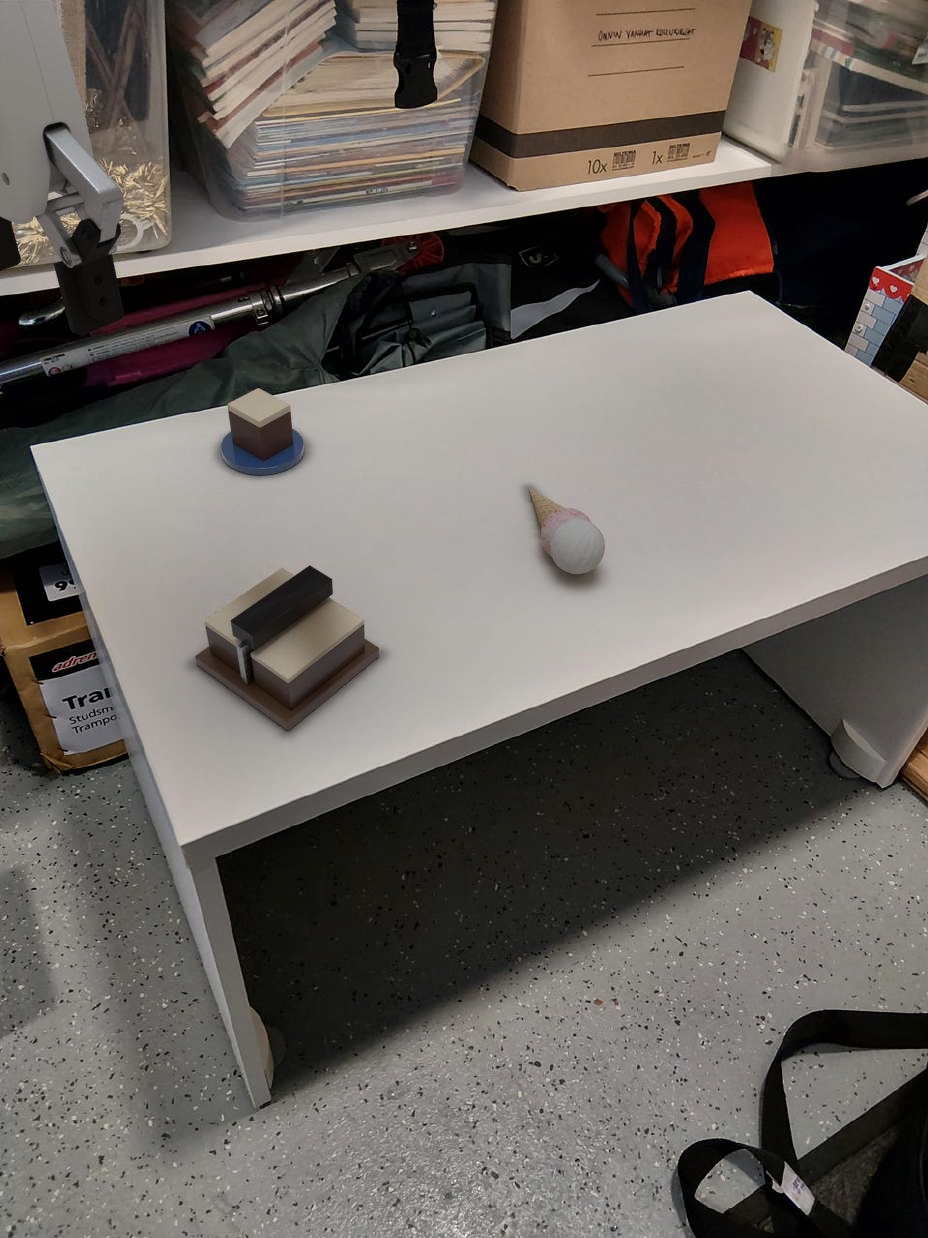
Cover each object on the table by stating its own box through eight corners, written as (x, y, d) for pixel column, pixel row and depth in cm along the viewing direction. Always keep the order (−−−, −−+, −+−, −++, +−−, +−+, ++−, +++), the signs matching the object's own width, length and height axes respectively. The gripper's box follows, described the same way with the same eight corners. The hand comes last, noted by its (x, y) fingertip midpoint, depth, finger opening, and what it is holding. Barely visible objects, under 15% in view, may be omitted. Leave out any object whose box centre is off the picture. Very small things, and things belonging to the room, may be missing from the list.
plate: (261, 485, 89) (260, 478, 88) (204, 452, 92) (203, 445, 91) (320, 450, 93) (320, 443, 93) (264, 419, 97) (264, 412, 96)
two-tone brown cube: (263, 461, 90) (259, 421, 87) (232, 443, 92) (226, 403, 89) (293, 444, 92) (290, 404, 89) (262, 426, 94) (258, 387, 91)
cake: (288, 731, 68) (283, 691, 65) (196, 664, 72) (187, 623, 69) (379, 656, 74) (379, 615, 71) (290, 598, 78) (286, 557, 75)
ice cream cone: (497, 502, 91) (552, 575, 79) (519, 458, 89) (578, 527, 77) (537, 516, 93) (596, 590, 81) (559, 474, 91) (623, 543, 79)
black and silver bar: (255, 692, 69) (247, 640, 65) (233, 676, 70) (224, 623, 66) (339, 627, 75) (337, 575, 71) (317, 613, 76) (314, 561, 72)
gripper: (-230, -88, 44) (-98, 269, 56) (-14, -15, 37) (83, 375, 49) (-76, -100, 48) (15, 233, 60) (142, -37, 41) (196, 326, 53)
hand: (45, 296), depth 54 cm, fingers open, 9 cm apart
